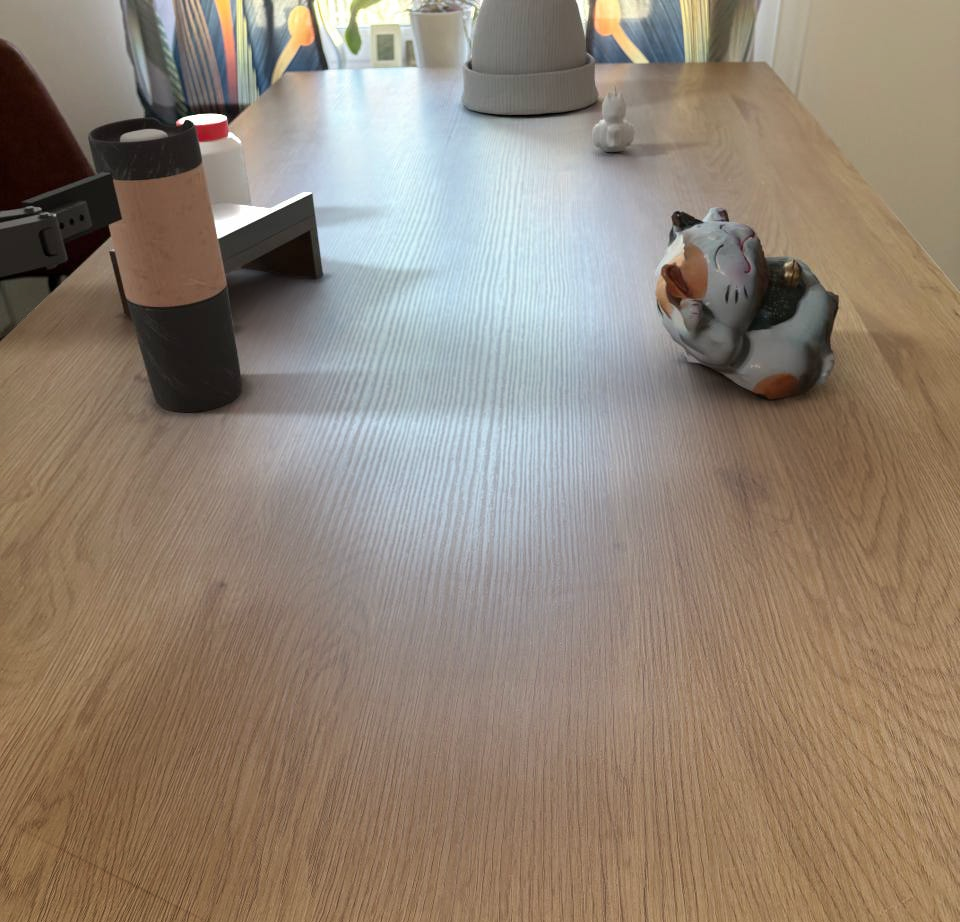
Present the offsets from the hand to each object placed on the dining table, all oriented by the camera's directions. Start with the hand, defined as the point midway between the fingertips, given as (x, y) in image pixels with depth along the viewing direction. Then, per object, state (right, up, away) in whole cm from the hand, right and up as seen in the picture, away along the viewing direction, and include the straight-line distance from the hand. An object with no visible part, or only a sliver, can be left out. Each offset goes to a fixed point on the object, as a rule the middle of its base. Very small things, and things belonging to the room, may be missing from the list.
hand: (32, 185), depth 69 cm
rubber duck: (+46, +35, +73) cm, 93 cm away
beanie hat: (+36, +54, +97) cm, 117 cm away
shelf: (+4, +5, +37) cm, 37 cm away
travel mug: (+6, -9, +19) cm, 22 cm away
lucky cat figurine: (+50, -7, +19) cm, 54 cm away
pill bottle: (-1, +19, +55) cm, 58 cm away
